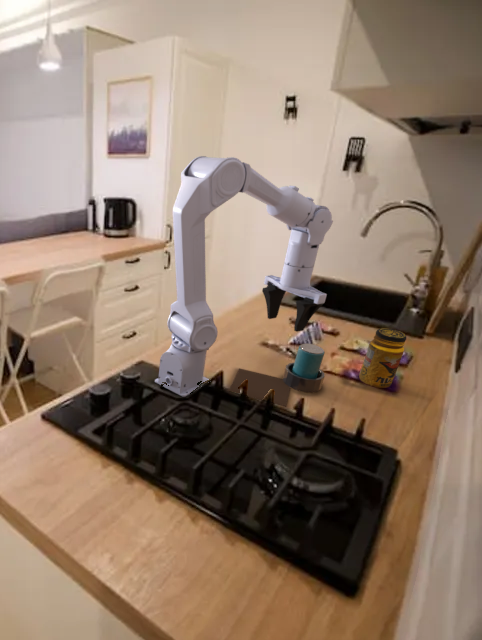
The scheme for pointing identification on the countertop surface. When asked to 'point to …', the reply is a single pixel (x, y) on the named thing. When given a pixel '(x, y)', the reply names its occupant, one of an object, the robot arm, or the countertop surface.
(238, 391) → the coaster
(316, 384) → the ring
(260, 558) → the countertop surface
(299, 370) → the can
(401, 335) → the condiment
